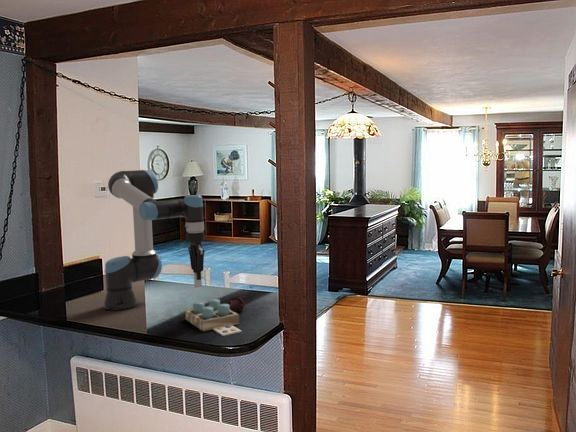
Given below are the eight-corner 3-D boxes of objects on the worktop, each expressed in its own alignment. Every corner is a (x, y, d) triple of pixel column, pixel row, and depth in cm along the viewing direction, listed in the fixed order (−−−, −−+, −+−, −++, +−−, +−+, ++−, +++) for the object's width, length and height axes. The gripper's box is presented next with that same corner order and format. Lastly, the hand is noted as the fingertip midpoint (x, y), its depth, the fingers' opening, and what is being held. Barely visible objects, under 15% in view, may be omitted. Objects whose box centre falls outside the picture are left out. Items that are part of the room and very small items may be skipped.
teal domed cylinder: (200, 319, 212) (199, 308, 212) (211, 317, 215) (210, 306, 215) (204, 321, 208) (204, 310, 208) (215, 319, 211) (215, 308, 210)
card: (212, 329, 207) (212, 327, 207) (230, 325, 212) (230, 323, 211) (222, 336, 199) (222, 334, 199) (241, 332, 203) (241, 330, 203)
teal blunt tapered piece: (216, 316, 216) (216, 305, 216) (226, 313, 219) (226, 303, 218) (221, 318, 212) (220, 307, 212) (231, 316, 215) (231, 305, 214)
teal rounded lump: (191, 313, 221) (191, 303, 220) (202, 311, 223) (201, 301, 223) (196, 316, 217) (195, 305, 216) (206, 314, 219) (206, 303, 219)
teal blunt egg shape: (207, 310, 224) (207, 300, 224) (217, 308, 227) (217, 298, 227) (211, 313, 220) (211, 302, 220) (222, 311, 223) (221, 300, 222)
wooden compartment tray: (185, 319, 222) (185, 310, 222) (219, 312, 231) (219, 304, 230) (203, 331, 205) (202, 321, 205) (239, 323, 214) (238, 314, 213)
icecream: (238, 302, 223) (252, 296, 237) (223, 297, 225) (238, 292, 240) (234, 317, 224) (248, 311, 238) (219, 312, 226) (234, 306, 240)
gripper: (181, 231, 220) (184, 285, 222) (192, 234, 209) (195, 291, 211) (197, 229, 224) (200, 282, 226) (209, 232, 213) (212, 288, 215)
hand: (198, 286), depth 219 cm, fingers closed
